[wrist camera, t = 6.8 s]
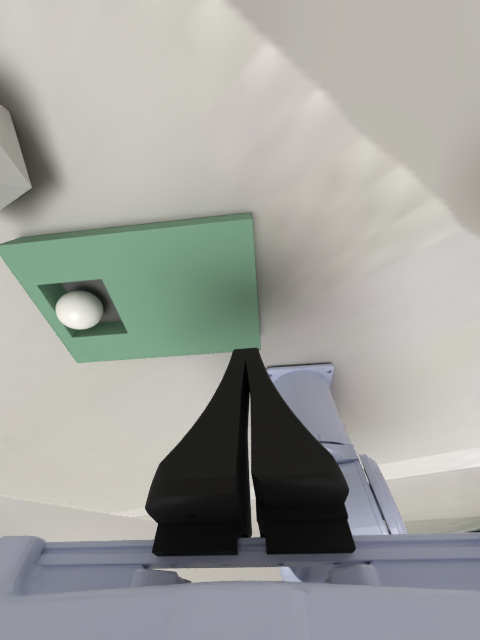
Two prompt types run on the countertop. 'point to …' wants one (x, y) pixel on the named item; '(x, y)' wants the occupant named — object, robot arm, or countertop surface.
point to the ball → (79, 310)
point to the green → (148, 286)
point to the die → (11, 162)
